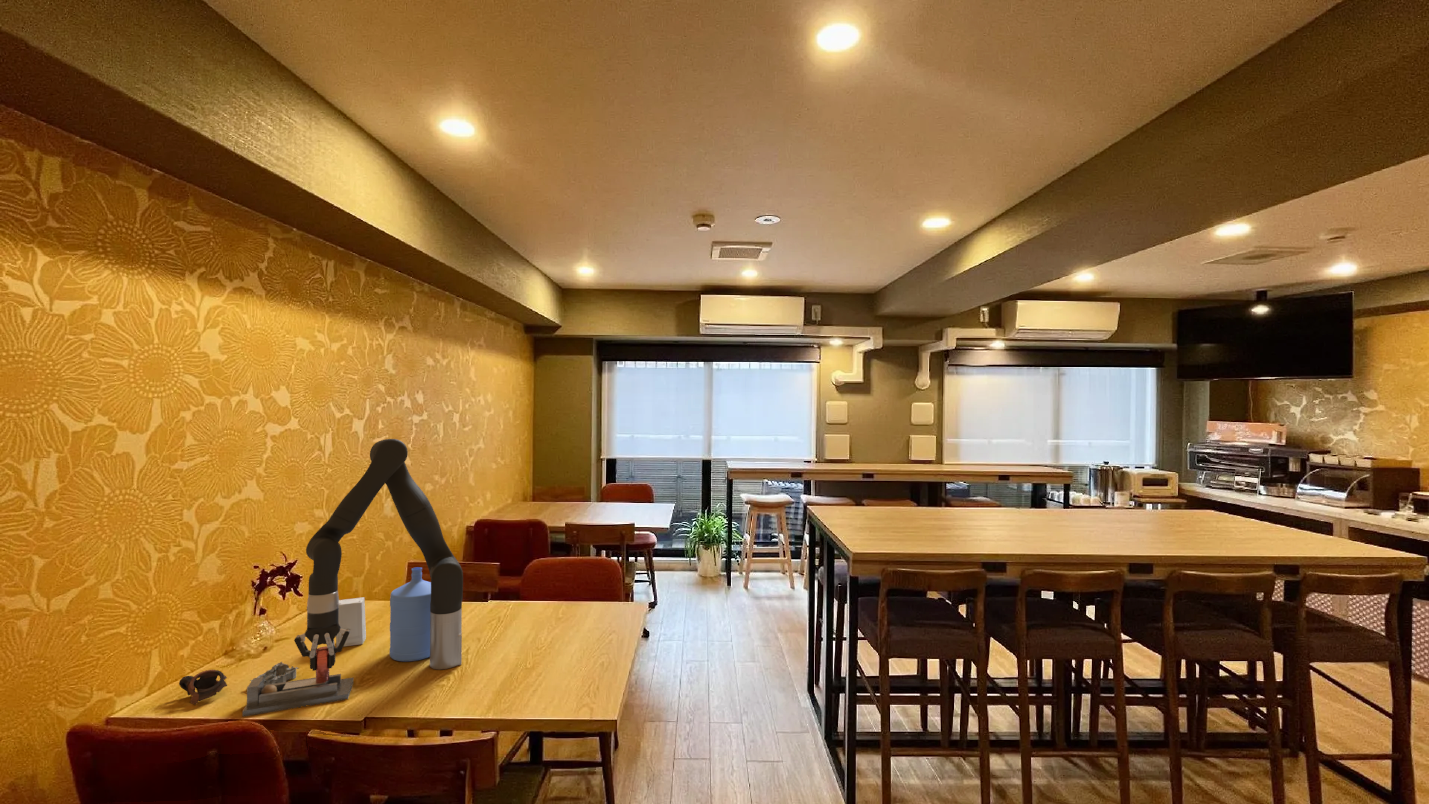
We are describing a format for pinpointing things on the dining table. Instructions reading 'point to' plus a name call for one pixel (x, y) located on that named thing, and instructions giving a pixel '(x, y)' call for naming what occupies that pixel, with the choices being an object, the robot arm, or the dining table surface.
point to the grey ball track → (294, 695)
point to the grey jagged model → (276, 670)
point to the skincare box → (352, 621)
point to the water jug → (410, 619)
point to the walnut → (269, 689)
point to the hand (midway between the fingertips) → (322, 668)
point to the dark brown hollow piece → (203, 685)
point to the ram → (321, 672)
